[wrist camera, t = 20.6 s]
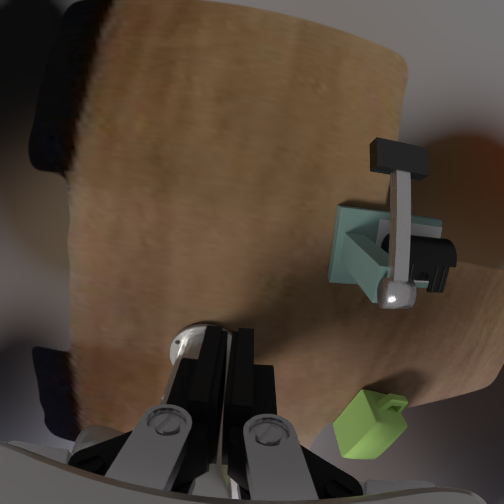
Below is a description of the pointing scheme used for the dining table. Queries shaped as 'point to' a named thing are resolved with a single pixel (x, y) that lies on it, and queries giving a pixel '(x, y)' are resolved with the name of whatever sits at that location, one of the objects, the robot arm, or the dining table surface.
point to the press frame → (368, 246)
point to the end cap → (428, 260)
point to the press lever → (398, 216)
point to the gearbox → (370, 424)
